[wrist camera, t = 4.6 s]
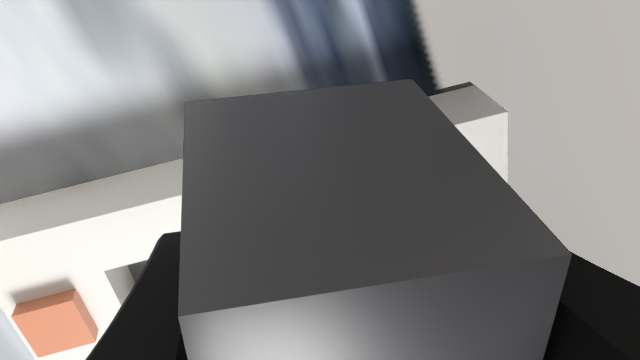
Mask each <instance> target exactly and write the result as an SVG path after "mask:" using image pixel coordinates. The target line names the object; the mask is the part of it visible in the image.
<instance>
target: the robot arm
mask: <svg viewBox="0 0 640 360" xmlns="http://www.w3.org/2000/svg"><path fill="white" fill-rule="evenodd" d="M180 238H181V231H178V232H171V233H164V234H163V235H162V236H161V237H160V238H159V239H158V240H157V243H156V245H155V247H154V249H153V251H152V253H151V255H150V257H149V259H148V261H147V262H146V264H145V266H144V268H143V270H142V272H141V273H140V275H139V277H138V279H137V281H136V282H135V284H134V286H133V288H132V289H131V291H130V293H129V294H128V296H127V297H126V299H125V301H124V302H123V304H122V306H121V307H120V309H119V310H118V312H117V314H116V315H115V317H114V319H113V320H112V322H111V323H110V325H109V326H108V328H107V329H106V331H105V332H104V334H103V335H102V337H101V338H100V340H99V341H98V342H97V344H96V345H95V347H94V348H93V350H92V351H91V352H90V354H89V355H88V357H87V358H86V360H188V358H187V354H186V350H185V345H184V341H183V337H182V332H181V328H180V324H179V319H178V299H179V269H180ZM571 254H572V257H571V260H570V264H569V267H568V271H567V275H566V278H565V282H564V285H563V289H562V293H561V296H560V300H559V303H558V307H557V310H556V314H555V318H554V321H553V325H552V328H551V332H550V336H549V339H548V343H547V346H546V350H545V354H544V357H543V360H640V286H637V285H635V284H633V283H631V282H629V281H627V280H625V279H623V278H621V277H619V276H617V275H615V274H613V273H611V272H609V271H607V270H605V269H603V268H601V267H599V266H596V265H595V264H593V263H591V262H589V261H587V260H585V259H583V258H581V257H579V256H577V255H575V254H574V253H572V252H571Z"/></svg>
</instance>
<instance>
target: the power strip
mask: <svg viewBox="0 0 640 360" xmlns="http://www.w3.org/2000/svg"><path fill="white" fill-rule="evenodd" d="M441 91H442V93H441V94H437V95H433V96H429V98H430V99H431V100H432V101H433V102H434V104H435V105H436V106H437V107H438V108H439V109H440V110H441V111H442V112H443V113H444V114H445V116H446V117H447V118H448V119H449V120H450V121H451V122H452V123H453V124H454V125H455V127H456V128H457V129H458V130H459V131H460V132H461V133H462V134H463V135H464V136H465V137H466V139H467V140H468V141H469V142H470V143H471V144H472V145H473V146H474V147H475V148H476V150H477V151H478V152H479V153H480V154H481V155H482V156H483V157H484V158H485V159H486V160H487V162H488V163H489V164H490V165H491V166H492V167H493V168H494V169H495V170H496V171H497V173H498V174H499V175H500V176H501V177H502V178H503V179H504V180H505V181H506V182H507V183H508V112H507V111H506V110H505V109H504V108H503V107H501V106H500V105H499V104H497V103H496V102H495V101H494V100H492V99H491V98H490V97H489V96H487V95H486V94H485V93H483V92H482V91H481V90H480V89H479V88H477V87H476V86H475V85H474V84H472V83H471V82H466V83H462V84H458V85H454V86H450V87H446V88H442V89H441ZM182 177H183V158H182V159H178V160H174V161H170V162H166V163H162V164H158V165H154V166H150V167H146V168H142V169H138V170H134V171H130V172H126V173H122V174H118V175H114V176H110V177H106V178H102V179H98V180H94V181H90V182H86V183H82V184H78V185H74V186H70V187H66V188H62V189H58V190H54V191H50V192H46V193H42V194H38V195H34V196H30V197H26V198H22V199H18V200H14V201H10V202H6V203H2V204H0V307H1V309H2V310H3V312H4V313H5V314H6V316H7V317H8V319H9V320H10V322H11V323H12V325H13V326H14V328H15V329H16V331H17V332H18V334H19V335H20V337H21V338H22V340H23V341H24V343H25V344H26V346H27V347H28V349H29V350H30V352H31V353H32V355H33V356H34V358H35V359H36V360H86V358H87V357H88V355H89V354H90V352H91V351H92V350H93V348H94V347H95V345H96V344H97V342H98V341H99V340H100V338H101V337H102V335H103V334H104V332H105V331H106V329H107V328H108V326H109V325H110V323H111V322H112V320H113V319H114V317H115V315H116V314H117V312H118V310H119V309H120V307H121V306H122V304H123V302H124V301H125V299H126V297H127V296H128V294H129V293H130V291H131V289H132V288H133V286H134V284H135V282H136V281H137V279H138V277H139V275H140V273H141V272H142V270H143V268H144V266H145V264H146V262H147V261H148V259H149V257H150V255H151V253H152V251H153V249H154V247H155V245H156V243H157V240H158V239H159V238H160V237H161V236H162V235H163V234H164V233H171V232H178V231H181V208H182Z"/></svg>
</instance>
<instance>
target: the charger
mask: <svg viewBox="0 0 640 360" xmlns="http://www.w3.org/2000/svg"><path fill="white" fill-rule="evenodd" d="M571 257H572V254H571V252H570V251H569V250H568V249H567V248H566V247H565V246H564V245H563V244H562V243H561V242H560V240H559V239H558V238H557V237H556V236H555V235H554V234H553V233H552V232H551V231H550V230H549V228H548V227H547V226H546V225H545V224H544V223H543V222H542V221H541V220H540V219H539V217H538V216H537V215H536V214H535V213H534V212H533V211H532V210H531V209H530V208H529V206H528V205H527V204H526V203H525V202H524V201H523V200H522V199H521V198H520V197H519V196H518V194H517V193H516V192H515V191H514V190H513V189H512V188H511V187H510V186H509V185H508V183H507V182H506V181H505V180H504V179H503V178H502V177H501V176H500V175H499V174H498V173H497V171H496V170H495V169H494V168H493V167H492V166H491V165H490V164H489V163H488V162H487V160H486V159H485V158H484V157H483V156H482V155H481V154H480V153H479V152H478V151H477V150H476V148H475V147H474V146H473V145H472V144H471V143H470V142H469V141H468V140H467V139H466V137H465V136H464V135H463V134H462V133H461V132H460V131H459V130H458V129H457V128H456V127H455V125H454V124H453V123H452V122H451V121H450V120H449V119H448V118H447V117H446V116H445V114H444V113H443V112H442V111H441V110H440V109H439V108H438V107H437V106H436V105H435V104H434V102H433V101H432V100H431V99H430V98H429V97H428V96H427V95H426V94H425V93H424V92H423V90H422V89H421V88H420V87H419V86H418V85H417V84H416V83H415V82H414V81H413V79H405V80H396V81H386V82H376V83H366V84H356V85H346V86H337V87H327V88H317V89H307V90H297V91H288V92H278V93H268V94H258V95H248V96H239V97H229V98H219V99H209V100H199V101H189V102H185V116H184V147H183V177H182V208H181V238H180V269H179V299H178V319H179V324H180V328H181V332H182V337H183V341H184V345H185V350H186V354H187V358H188V360H543V357H544V354H545V350H546V346H547V343H548V339H549V336H550V332H551V328H552V325H553V321H554V318H555V314H556V310H557V307H558V303H559V300H560V296H561V293H562V289H563V285H564V282H565V278H566V275H567V271H568V267H569V264H570V260H571Z"/></svg>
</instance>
